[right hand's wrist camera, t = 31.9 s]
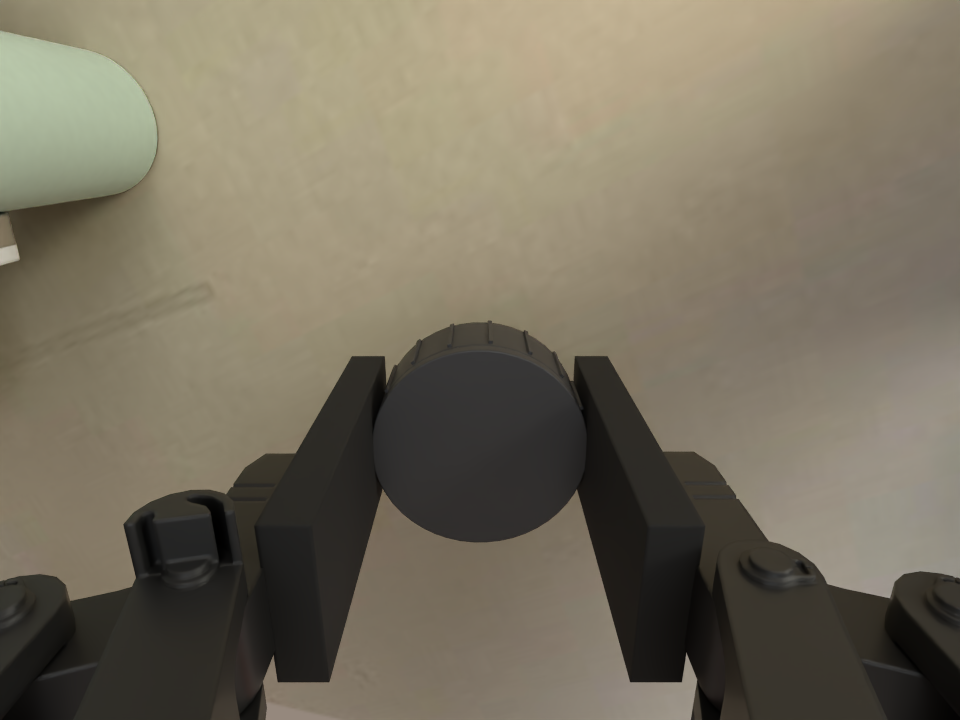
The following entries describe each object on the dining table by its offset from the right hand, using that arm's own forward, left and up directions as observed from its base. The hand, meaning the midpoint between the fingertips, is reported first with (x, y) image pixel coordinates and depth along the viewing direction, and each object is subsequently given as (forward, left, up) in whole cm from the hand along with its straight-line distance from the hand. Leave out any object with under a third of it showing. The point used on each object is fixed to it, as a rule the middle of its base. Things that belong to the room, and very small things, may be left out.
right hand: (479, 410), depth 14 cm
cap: (0, 0, +2) cm, 2 cm away
